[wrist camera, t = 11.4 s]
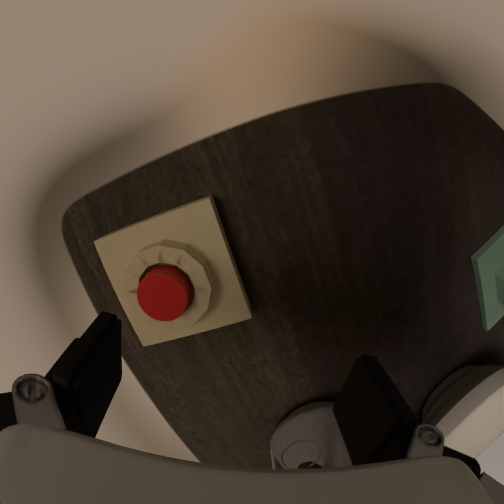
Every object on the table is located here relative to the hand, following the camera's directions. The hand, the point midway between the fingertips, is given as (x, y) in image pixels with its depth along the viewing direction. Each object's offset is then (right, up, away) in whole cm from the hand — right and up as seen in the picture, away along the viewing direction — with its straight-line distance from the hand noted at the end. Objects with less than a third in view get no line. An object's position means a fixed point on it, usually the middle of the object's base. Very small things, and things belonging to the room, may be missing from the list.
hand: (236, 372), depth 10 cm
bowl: (+30, -16, +21) cm, 40 cm away
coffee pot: (+6, -11, +19) cm, 23 cm away
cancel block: (-6, +3, +14) cm, 15 cm away
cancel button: (-6, +2, +10) cm, 12 cm away
